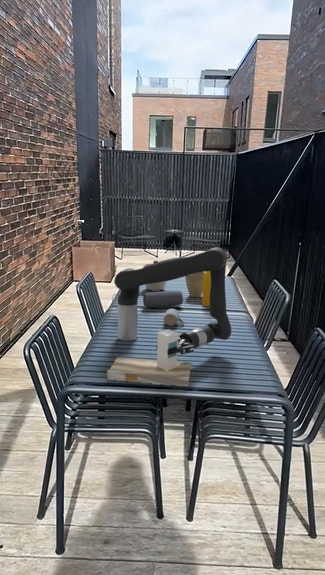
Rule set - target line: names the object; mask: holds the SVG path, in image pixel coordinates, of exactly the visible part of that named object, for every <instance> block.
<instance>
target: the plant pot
mask: <svg viewBox="0 0 325 575" xmlns="http://www.w3.org/2000/svg"><path fill="white" fill-rule="evenodd" d="M204 274H205V272H198V273H193V274H190V275H187V276H185V277H184V278H185V282H186V288H187V291H188V295H189V297H190V296H191V297H190V298H193V297H199V298H201V297H202V296H203V280H204Z"/></svg>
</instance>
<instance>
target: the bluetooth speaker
mask: <svg viewBox="0 0 325 575" xmlns="http://www.w3.org/2000/svg"><path fill="white" fill-rule="evenodd" d="M142 297H143V298H142V302H143V306H144V307H145V308H154V309H155V308H161V309H168V308H167V307H171V308H172V307H175V306H181V305H183V303H184V298H183V292H182V291H181V290H168V291H167V290H166V291H164V290H162V291H150V292H145V293H143V296H142Z"/></svg>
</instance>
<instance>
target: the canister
mask: <svg viewBox="0 0 325 575" xmlns="http://www.w3.org/2000/svg"><path fill="white" fill-rule="evenodd" d="M157 262H159V261H158V260H153V262H152V263H147V264H145V265H143V266H142V268H144V267H147V266H149V265H151V264H154V263H157ZM166 282H167V281H164V282H159V283H152V284H145V285H144V286H145V289H146V290H147V289H148V290H147V291H150V290H152V291H151V292H161V291H160V290H162V291H164V289H165V287H166Z"/></svg>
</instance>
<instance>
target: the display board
mask: <svg viewBox="0 0 325 575" xmlns="http://www.w3.org/2000/svg"><path fill="white" fill-rule="evenodd" d="M191 365H192V363H191V362H185V361H184V362H183V361H182V362H180V361H177V367H176V368H173V369H171V370H168V371H165V370H163V369H161V368H159V367H158V366H157V359H142V358H135V357H134V358H131V357H121V356H120V357H119V356H117V357H116V358H115V360H114V362H113V364H112V365H111V367H110V369H108V370H107V371H106V372H107V376H106V377H107V378H106V379H107V381H114V380H116V382H126V381H128V383H137V382H140V383H139V384H148V383H152V384H151V385H160V384H165V385H164V386H171V385H175V386H174V387H183V386H185V387H184V388H189V385H190V384H189V383H190V378H191V377H190V376H191V371H192V370H191V369H192V366H191Z"/></svg>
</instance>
